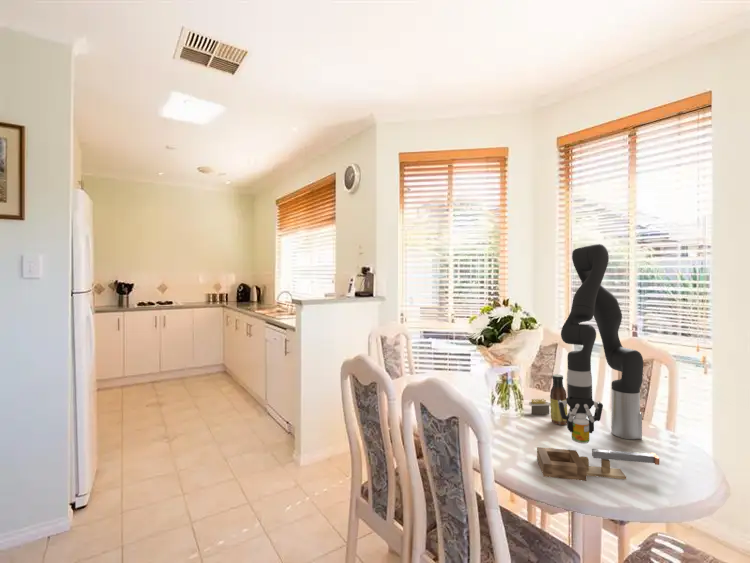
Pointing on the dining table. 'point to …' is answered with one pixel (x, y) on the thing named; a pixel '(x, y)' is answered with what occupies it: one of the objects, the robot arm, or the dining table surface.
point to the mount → (602, 469)
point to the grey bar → (625, 456)
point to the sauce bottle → (555, 395)
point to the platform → (539, 406)
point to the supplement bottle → (580, 428)
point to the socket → (561, 464)
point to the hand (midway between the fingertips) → (580, 431)
